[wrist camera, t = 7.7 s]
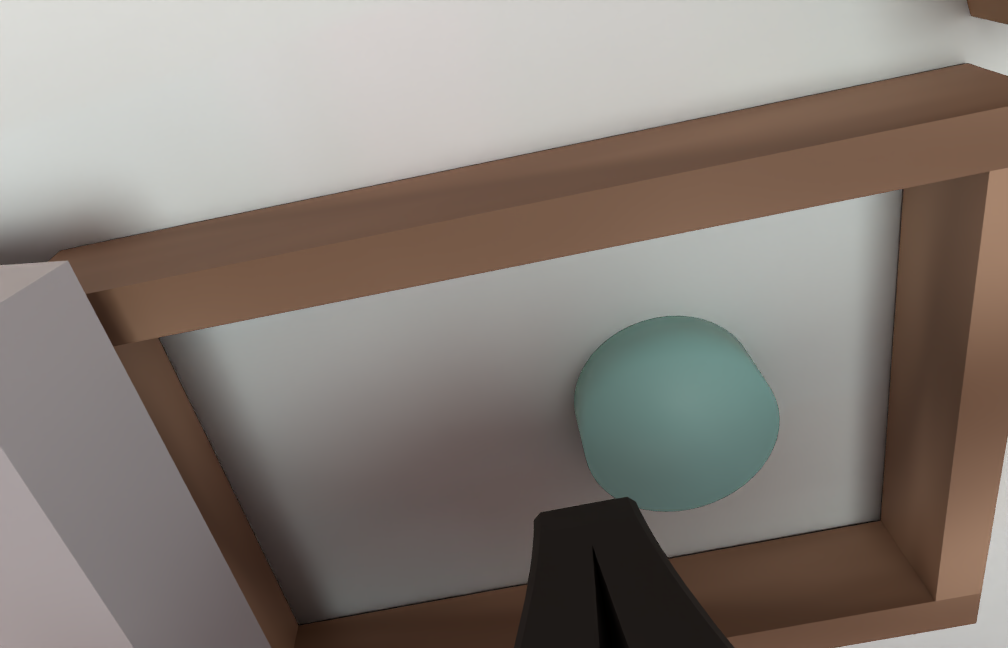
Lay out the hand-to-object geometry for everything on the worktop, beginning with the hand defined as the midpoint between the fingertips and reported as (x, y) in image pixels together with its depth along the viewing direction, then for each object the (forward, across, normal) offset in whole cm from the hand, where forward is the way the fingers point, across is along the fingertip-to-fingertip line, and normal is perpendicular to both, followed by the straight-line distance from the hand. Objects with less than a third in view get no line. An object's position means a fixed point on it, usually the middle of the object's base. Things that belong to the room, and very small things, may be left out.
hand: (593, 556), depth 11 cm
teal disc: (+3, -2, 0) cm, 4 cm away
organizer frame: (+3, 0, 0) cm, 3 cm away
